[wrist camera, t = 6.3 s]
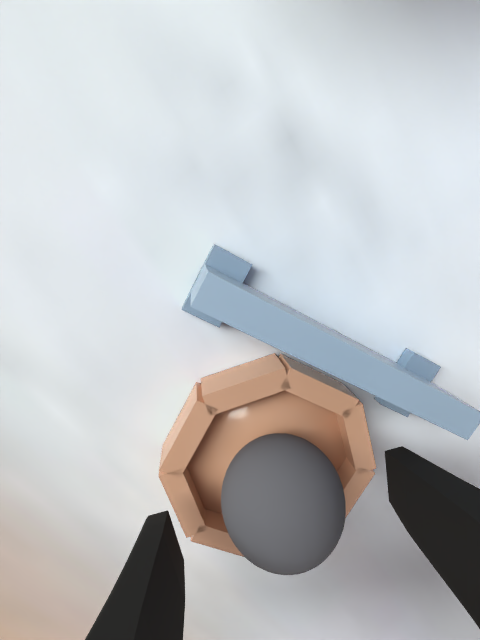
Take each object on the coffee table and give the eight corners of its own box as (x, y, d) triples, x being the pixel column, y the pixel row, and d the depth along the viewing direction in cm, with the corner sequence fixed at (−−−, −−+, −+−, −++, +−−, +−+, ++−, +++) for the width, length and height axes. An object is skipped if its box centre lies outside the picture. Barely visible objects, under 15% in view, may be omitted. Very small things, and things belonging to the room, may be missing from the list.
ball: (323, 411, 12) (384, 487, 9) (308, 499, 13) (358, 603, 10) (219, 411, 12) (237, 495, 8) (211, 503, 13) (223, 619, 9)
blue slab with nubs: (431, 362, 13) (498, 396, 10) (400, 410, 14) (455, 457, 11) (213, 244, 11) (220, 246, 8) (182, 306, 11) (178, 330, 8)
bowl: (387, 404, 13) (408, 423, 12) (296, 544, 15) (307, 575, 13) (225, 327, 12) (229, 339, 10) (137, 493, 13) (130, 523, 11)
